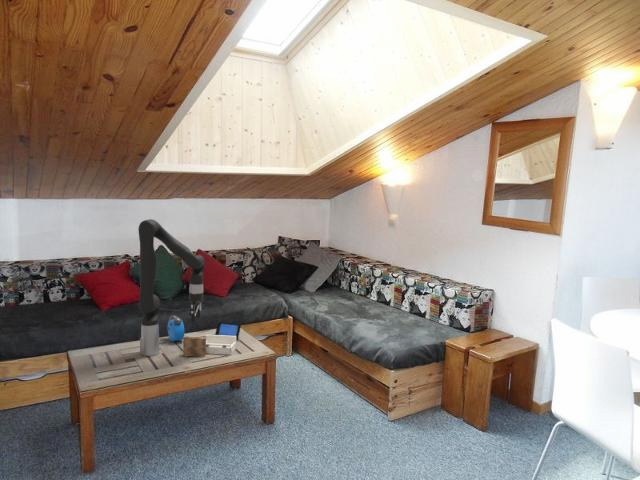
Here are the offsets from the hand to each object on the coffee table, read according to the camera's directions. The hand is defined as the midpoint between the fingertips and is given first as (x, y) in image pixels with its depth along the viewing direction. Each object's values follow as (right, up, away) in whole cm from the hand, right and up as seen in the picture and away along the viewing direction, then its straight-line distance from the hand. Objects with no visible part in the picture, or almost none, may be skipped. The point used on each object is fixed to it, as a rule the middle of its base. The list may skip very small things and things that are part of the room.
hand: (195, 320), depth 265 cm
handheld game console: (+11, -18, +29) cm, 35 cm away
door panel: (-1, -20, +2) cm, 20 cm away
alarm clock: (-19, -17, +25) cm, 36 cm away
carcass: (+10, -19, +11) cm, 24 cm away
